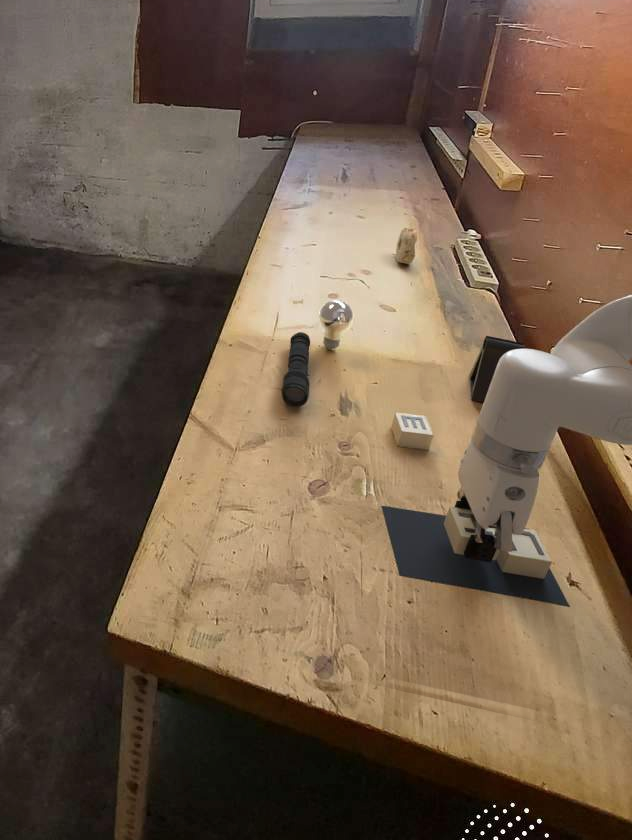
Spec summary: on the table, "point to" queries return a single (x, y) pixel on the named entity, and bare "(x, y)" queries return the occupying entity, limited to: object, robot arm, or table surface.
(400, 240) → the stone disc
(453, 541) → the letter h block
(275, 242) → the table surface
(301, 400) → the flashlight
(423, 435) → the letter e tile
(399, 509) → the mat
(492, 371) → the phone stand
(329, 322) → the light bulb
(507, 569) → the tile
